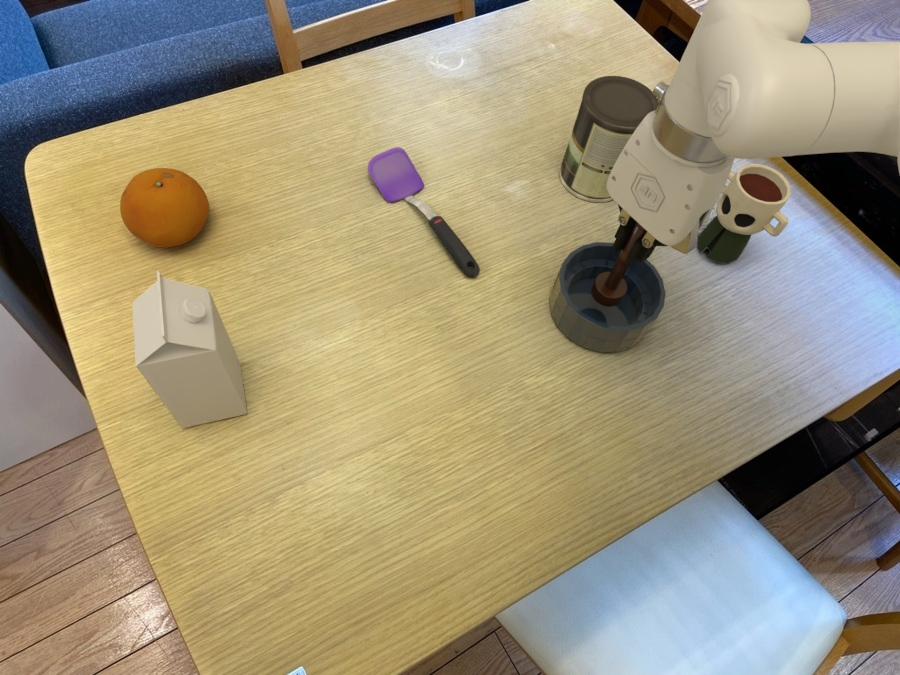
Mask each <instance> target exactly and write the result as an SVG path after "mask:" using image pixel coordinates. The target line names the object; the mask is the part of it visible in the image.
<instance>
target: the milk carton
mask: <svg viewBox="0 0 900 675" xmlns="http://www.w3.org/2000/svg"><path fill="white" fill-rule="evenodd" d="M131 308H132V325H133V327H132V329H133V343H134V345H133V346H134V347H133V348H134V364H135V367H136V368H137V370H138V372H140V374H141V375H142V376H143V378H144V379H145V380H146V382H147V383H148V384H149V386H150V387H151V389H152V390H153V391H154V393H155V394H156V395H157V397H158V398H159V400H160V401H161V402H162V403H163V404H164V406H165V408H166V409H167V410H168V411H169V413H170V414H171V416H172V418H173V419H174V420H175V421H176V422H177V424H178V425H179V427H180V428H181V429H187V428H190V427H195V426H199V425H204V424H209V423H213V422H217V421H223V420H226V419H231V418H235V417H239V416H244V415H247V414H248V408H247V402H246V396H245V395H246V394H245V388H244V380H243V373H242V368H241V362H240V359H239V357H238V355H237V352H236V350H235V348H234V345H233V342H232V340H231V338H230V335H229V334H228V331H227V329H226V327H225V324H224V322H223V319H222V317H221V315H220V313H219V310H218V307H217V305H216V303H215V301H214V298H213V296H212V293H211V291H210V290H209V288H206V287H202V286H199V285H195V284H191V283H186V282H182V281H178V280H174V279H170V278H166V277H163V276H162V274H161V272H160V271H159V270H156V281H155V282H153V284H152V285H150V286H149V287H147V289H146V290H145V291H143V292H142V293H141V294H140V295H139V296H138V297H137V298H135V300H133V301H132V304H131Z"/></svg>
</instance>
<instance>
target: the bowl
mask: <svg viewBox="0 0 900 675" xmlns="http://www.w3.org/2000/svg"><path fill="white" fill-rule="evenodd" d="M613 244H614V242H606V241H605V242H601V241H597V242H592V243H591V242H590V243H587V244H583V245H581V246H579V247H577V248H576V249H574V250H572V251H570V252H569V254H568V255H567V257H565V259H564V260H562V261H563V262H562V263H561V265H560V269H559V270H558V272H557V276H556V278H555V281H554V283H553V286H552V289H551V292H550V296H549V306H550V314H551V316H552V318H553V320H554V323H555V325H556V326H557V327H558V329H560V331H561V332H562V333H563V334H564V335H565V336H566V337H567V339H569V340H570V341H572V342H574V343H575V344H577V345H579V346H580V347H583V348H586V349H589V350H592V351H596V352H599V353H618V352H623V351H625V350H628V349H631V348H632V347H634V346H635V345H637V344H638V343H640V341H642V340H643V338H645V336H646V334H647V332H648V331H649V330H650V328H651V327H652V326H653V324H654V323H655V321H657V319H658V316H659V315H660V313H661V312H662V310H663V309H664V307H665V300H666V296H667V295H666V288H665V284H664V281H663V278H662V276H661V275H660V273H659V271H658V270H657V268H656V266H655V265H654V264H652V263H651V261H650V260H648V259H646V260H645V261H643V262H640V261H639V260H638V261H637V262H635V263H634V264H632V265H630V266H629V267H628V269H627V271H626V273H625V275H624V276H623V279H624V280H625V282H626V284H627V291H626V293H625V295H624V297H623V298H622V300H621V302H620V303H619V304H617V305H615V306H612V307H607V306H603V305H600V304H599V303H597V302H596V301H595V300H594V298H593V297H592V294H591V288H592V286H593V284H594V282H595V280H596V278H597V276H598V275H599V274H601V273H603V272H611V270H612V268H613V266H614V264H615V262H616V261H617V259H618V257H619V255H620V253H621V251H622V249H621V250H620V251H618V252H614V251H613V250H612V249H611V248H612V246H613Z"/></svg>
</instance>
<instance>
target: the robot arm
mask: <svg viewBox="0 0 900 675" xmlns="http://www.w3.org/2000/svg"><path fill="white" fill-rule="evenodd" d="M811 17H812V10H811V5H810V2H809V0H707V2H706V4H705V6H704V8H703V11H702V12H701V15H700V17H699V19H698V21H697V24H696V26H695V28H694V30H693V33H692V35H691V37H690V39H689V42H688V43H687V46H686V47H685V49H684V52H683V54H682V56H681V59H680V61H679V63H678V65H677V68H676V69H675V71H674V74H673V76H672V78H671V81H670V82H669V84H667V83H665V82H664V81H660V82H658V83H657V84H656V85H655V87H654V88H653V90H652V92H653V95H655V96H656V97H657V100H658V101H659V104H658V107H657V109H656V110H655V111H652V112H650V113H648V114H647V115H646V117H645V118H644V119H643V120H642V122H641V123H640V124H639V126H638V127H637V128H636V130H635V131H634V133H633V134H632V136H631V137H630V139H629V140H628V142H627V144H626V145H625V147H624V148H623V150H622V152H621V154H620V155H619V157H618V159H617V161H616V163H615V165H614V167H613V169H612V171H611V173H610V175H609V177H608V180H607V185H606V187H607V191H608V193H609V195H610V196H611V197H612V198H613V200H612V201H614V202H615V203H616V204H617V206H618V210H619V215H618V218H617V220H618V223H619V226H618V227H617V230H616V232H615V234H614V238H615V240H614V242H613V243H614V244H613V246H612V248H611V249H612V250H613V251H614V252H618V251H620V250H621V249H623V247H624V245H625V243H626V241H627V239H628V237H629V236H630V234H631V232H632V230H633V228H634V226H635V224H636V222H638V223H639V224H640V225H641V226H642V227H643V228H644V229H645V230H647V232H646V234H645V235H644V236H643V237H642V238H640V239H638V240H637V241H636V242H635V244H634V246H633V247H632V249H631V251H630V253H629V255H628V257H627V258H626V260H625V261H626V264H627V265H628V266H630V265H632V264H634V263H635V262H637V261H638V260H639V261H640V262H643V261H645V260H646V259H647V260H648V259H649V258H650V257H651V255H652V254H653V252H654V251H655V249H656V247H671V248H672V249H673V250H675V251H678V252H679V253H682V254H684V255H687V254H689V253H690V252H691V251H693V250H695V249H696V247H697V242H698V236H699V231H700V229H701V228H702V227H703V225H704V224H705V223H706V221H707V220H708V218H709V217H710V216H711V213H712V211H713V210H714V208H715V207H716V205H717V202H718V200H719V198H720V197H721V195H722V191H723V188H724V186H726V185H727V182H728V180H729V179H728V177H729V174H730V171H732V168H733V165H734V162H735V159H739V160H754V159H767V158H769V159H770V158H781V157H794V156H805V155H818V154H830V153H831V154H833V153H855V152H859V153H860V152H861V153H862V152H864V153H876V154H880V155H881V154H882V155H887V156H892V157H897V159H896V161H897V167H898V173H899V174H898V175H900V41H840V42H837V41H836V42H813V43H804V42H803V43H802V42H801V41H802V40H803V38H804V37H805V35H806V32H807V31H808V28H809V26H810V22H811Z"/></svg>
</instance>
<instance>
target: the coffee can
mask: <svg viewBox="0 0 900 675" xmlns="http://www.w3.org/2000/svg"><path fill="white" fill-rule="evenodd" d="M658 104H659V101H658V100H657V97H656V96H655V95H653V90H651V89H650V88H649V87H648V86H646V85H645V84H644V83H641V82H640V81H638V80H636V79H633V78H630V77H627V76H621V75H605V76H604V75H603V76H601V77H597V78H595V79H593V80H591V81H590V82H589V83H588V84H587V85H586V86H585V87H584V89H583V92H582V98H581V102H580V105H579V108H578V111H577V113H576V114H577V115H576V118H575V121H574V124H573V127H572V131H571V134H570V136H569V140H568V143H567V146H566V148H565V152H564V155H563V158H562V161H561V164H560V165H559V170H558V171H559V172H558V175H559V180H560V183H561V184H562V186H563V187H564V188H565V189H566V190H567V191H568V193H570V194H571V195H572V196H574V197H575V198H578V199H580V200H583V201H586V202H590V203H607V202H611V201H614V200H613V198H612V197H611V196H610V195H609V193H608V191H607V187H606V185H607V180H608V177H609V175H610V173H611V171H612V169H613V167H614V165H615V163H616V161H617V159H618V157H619V155H620V154H621V152H622V150H623V148H624V147H625V145H626V144H627V142H628V140H629V139H630V137H631V136H632V134H633V133H634V131H635V130H636V128H637V127H638V126H639V124H640V123H641V122H642V120H643V119H644V118H645V117H646V115H647V114H648V113H650V112H652V111H655V110H656V109H657V107H658Z"/></svg>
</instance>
